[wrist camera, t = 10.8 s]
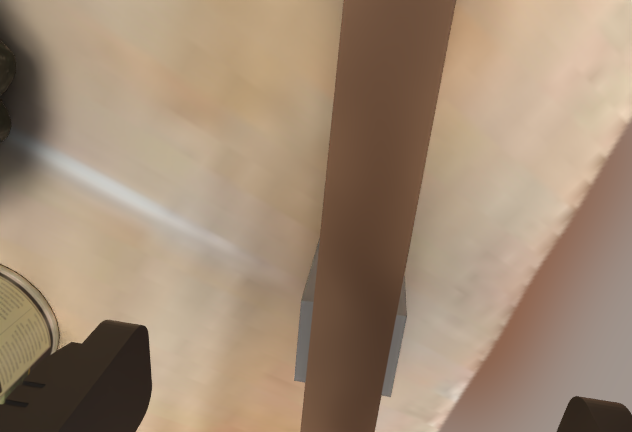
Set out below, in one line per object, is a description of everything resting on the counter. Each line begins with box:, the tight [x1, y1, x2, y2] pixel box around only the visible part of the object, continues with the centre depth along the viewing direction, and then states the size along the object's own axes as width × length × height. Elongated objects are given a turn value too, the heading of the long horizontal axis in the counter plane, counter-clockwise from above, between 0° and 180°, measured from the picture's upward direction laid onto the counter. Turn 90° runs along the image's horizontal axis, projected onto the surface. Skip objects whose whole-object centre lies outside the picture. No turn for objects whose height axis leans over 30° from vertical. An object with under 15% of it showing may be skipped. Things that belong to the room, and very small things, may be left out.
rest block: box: [294, 239, 407, 397], centre depth 27 cm, size 5×5×7 cm
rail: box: [301, 0, 456, 432], centre depth 18 cm, size 3×26×4 cm, turn 175°
